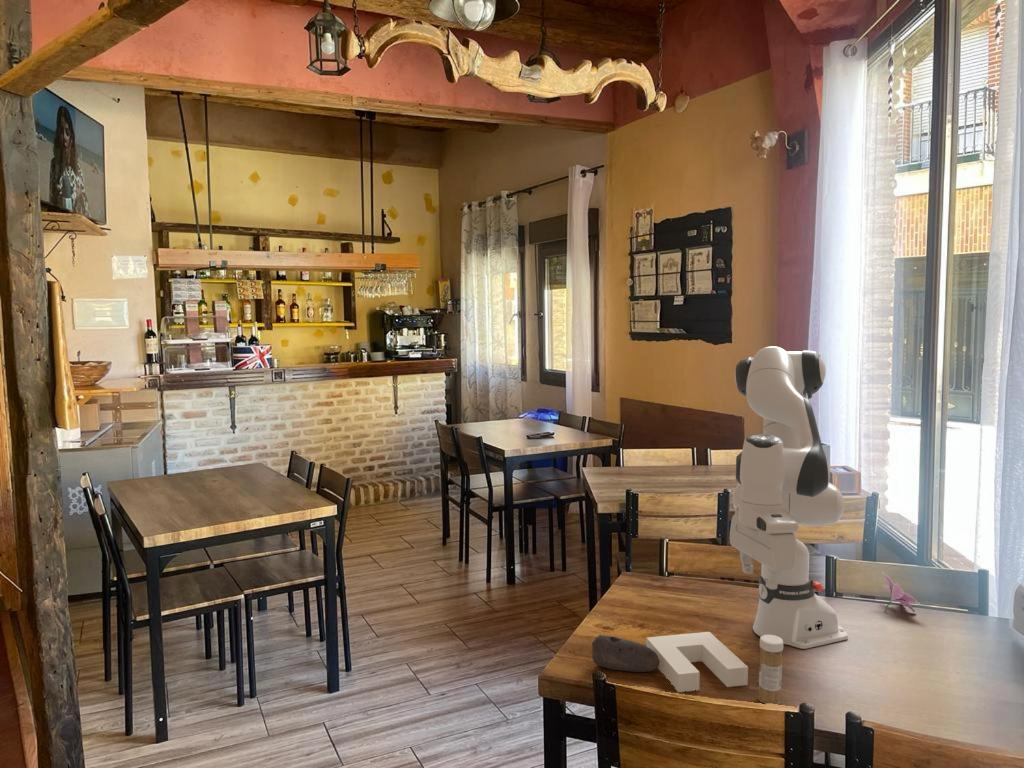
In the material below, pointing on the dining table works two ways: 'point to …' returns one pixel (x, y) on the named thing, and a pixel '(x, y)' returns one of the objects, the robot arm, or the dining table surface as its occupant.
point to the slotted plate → (696, 660)
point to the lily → (899, 594)
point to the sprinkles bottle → (770, 669)
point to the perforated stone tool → (623, 655)
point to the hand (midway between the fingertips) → (759, 580)
